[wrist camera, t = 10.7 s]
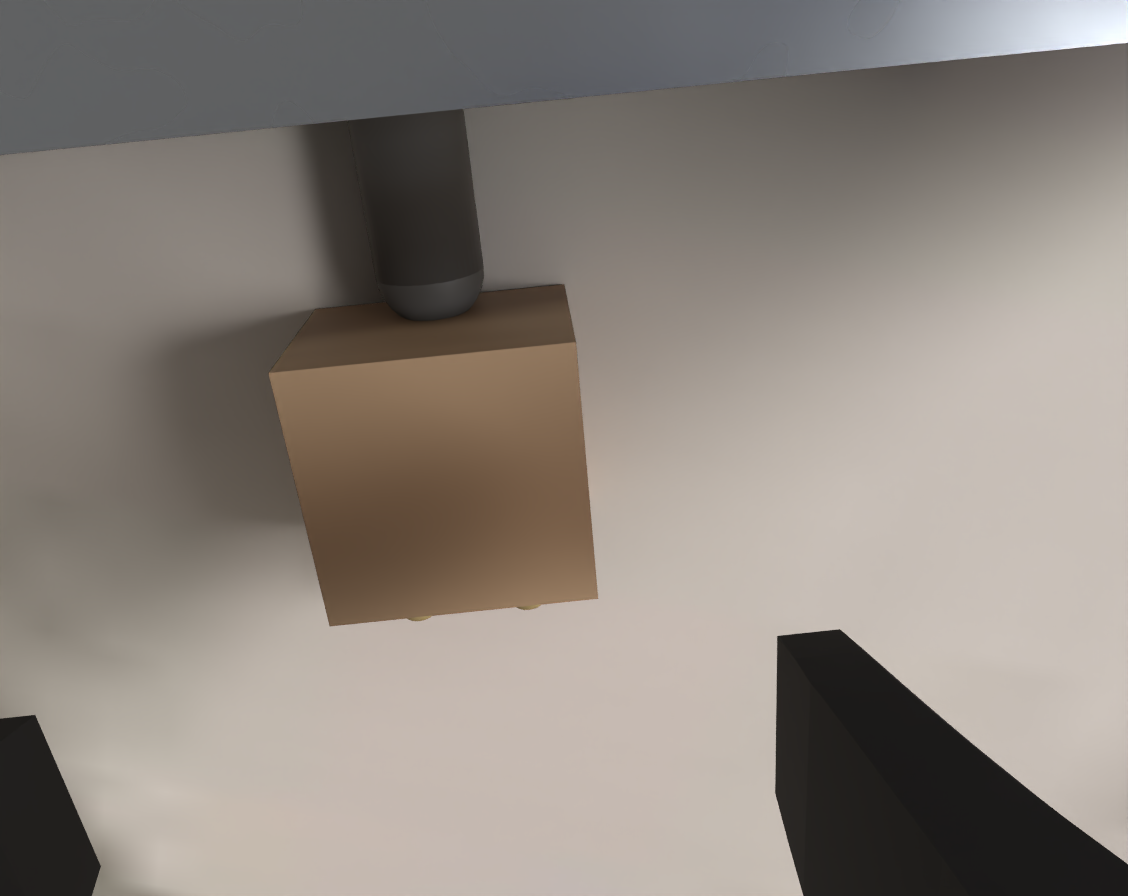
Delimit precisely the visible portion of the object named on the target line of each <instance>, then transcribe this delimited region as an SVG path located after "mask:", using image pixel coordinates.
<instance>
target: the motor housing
mask: <svg viewBox="0 0 1128 896" xmlns="http://www.w3.org/2000/svg"><path fill="white" fill-rule="evenodd" d="M1120 43H1128V0H0V155H5V154H15V153H25V152H35V151H45V150H55V149H65V148H75V147H85V146H95V145H105V144H115V143H125V142H135V141H145V140H155V139H165V138H175V137H185V136H196V135H206V134H216V133H226V132H236V131H246V130H256V129H266V128H276V127H286V126H296V125H306V124H316V123H326V122H336V121H346V120H356V119H366V118H376V117H386V116H396V115H407V114H417V113H427V112H437V111H447V110H457V109H467V108H477V107H487V106H497V105H507V104H517V103H527V102H537V101H547V100H557V99H567V98H577V97H587V96H597V95H607V94H618V93H628V92H638V91H648V90H658V89H668V88H678V87H688V86H698V85H708V84H718V83H728V82H738V81H748V80H758V79H768V78H778V77H788V76H798V75H808V74H818V73H828V72H839V71H849V70H859V69H869V68H879V67H889V66H899V65H909V64H919V63H929V62H939V61H949V60H959V59H969V58H979V57H989V56H999V55H1009V54H1019V53H1029V52H1039V51H1050V50H1060V49H1070V48H1080V47H1090V46H1100V45H1110V44H1120Z"/></svg>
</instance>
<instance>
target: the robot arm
mask: <svg viewBox="0 0 1128 896" xmlns="http://www.w3.org/2000/svg"><path fill="white" fill-rule="evenodd" d="M775 794H776V797H777V801H778V805H779V809H780V812H781V816H782V820H783V824H784V827H785V831H786V835H787V839H788V842H789V846H790V850H791V853H792V857H793V860H794V864H795V867H796V871H797V875H798V878H799V882H800V885H801V889H802V892H803V896H1128V864H1127V863H1125V862H1124V861H1123V860H1121V859H1120V858H1119V857H1117V856H1116V855H1115V854H1113V853H1112V852H1110V851H1109V850H1108V849H1106V848H1105V847H1104V846H1102V845H1101V844H1100V843H1098V842H1097V841H1095V840H1094V839H1093V838H1091V837H1090V836H1089V835H1087V834H1086V833H1085V832H1083V831H1082V830H1081V829H1079V828H1078V827H1076V826H1075V825H1074V824H1072V823H1071V822H1070V821H1068V820H1067V819H1066V818H1064V817H1063V816H1062V815H1060V814H1059V813H1058V812H1057V811H1055V810H1054V809H1053V808H1051V807H1050V806H1049V805H1048V804H1046V803H1045V802H1044V801H1042V800H1041V799H1040V798H1039V797H1037V796H1036V795H1035V794H1034V793H1032V792H1031V791H1030V790H1029V789H1027V788H1026V787H1025V786H1024V785H1022V784H1021V783H1020V782H1019V781H1018V780H1016V779H1015V778H1014V777H1013V776H1011V775H1010V774H1009V773H1008V772H1006V771H1005V770H1004V769H1003V768H1002V767H1000V766H999V765H998V764H997V763H995V762H994V761H993V760H992V759H990V758H989V757H988V756H987V755H985V754H984V753H983V752H982V751H981V750H979V749H978V748H977V747H976V746H974V745H973V744H972V743H971V742H970V741H968V740H967V739H966V738H965V737H964V736H962V735H961V734H960V733H959V732H958V731H957V730H955V729H954V728H953V727H952V726H951V725H949V724H948V723H947V722H946V721H945V720H944V719H942V718H941V717H940V716H939V715H938V714H937V713H935V712H934V711H933V710H932V709H931V708H930V707H929V706H927V705H926V704H925V703H924V702H923V701H922V700H920V699H919V698H918V697H917V696H916V695H915V694H913V693H912V692H911V691H910V690H909V689H908V688H907V687H906V686H904V685H903V684H902V683H901V682H900V681H899V680H898V679H896V678H895V677H894V676H893V675H892V674H891V673H890V672H888V671H887V670H886V669H885V668H884V667H883V666H882V665H880V664H879V663H878V662H877V661H876V660H875V659H874V658H872V657H871V656H870V655H869V654H868V653H867V652H866V651H864V650H863V649H862V648H861V647H860V646H859V645H858V644H856V643H855V642H854V641H853V640H852V639H851V638H849V637H848V636H847V635H846V634H845V633H843V632H842V631H841V630H840V629H839V630H830V631H820V632H811V633H802V634H792V635H783V636H777V710H776V785H775ZM100 867H101V866H100V863H99V861H98V859H97V856H96V854H95V852H94V850H93V847H92V845H91V843H90V840H89V838H88V836H87V833H86V831H85V829H84V827H83V824H82V822H81V820H80V817H79V815H78V813H77V810H76V808H75V806H74V803H73V801H72V799H71V797H70V794H69V792H68V790H67V787H66V785H65V783H64V780H63V778H62V776H61V774H60V771H59V769H58V767H57V764H56V762H55V760H54V757H53V755H52V753H51V750H50V748H49V746H48V744H47V741H46V739H45V737H44V734H43V732H42V730H41V727H40V725H39V723H38V721H37V718H36V716H35V715H31V716H22V717H12V718H3V719H0V896H92V893H93V890H94V887H95V883H96V880H97V877H98V874H99V870H100Z"/></svg>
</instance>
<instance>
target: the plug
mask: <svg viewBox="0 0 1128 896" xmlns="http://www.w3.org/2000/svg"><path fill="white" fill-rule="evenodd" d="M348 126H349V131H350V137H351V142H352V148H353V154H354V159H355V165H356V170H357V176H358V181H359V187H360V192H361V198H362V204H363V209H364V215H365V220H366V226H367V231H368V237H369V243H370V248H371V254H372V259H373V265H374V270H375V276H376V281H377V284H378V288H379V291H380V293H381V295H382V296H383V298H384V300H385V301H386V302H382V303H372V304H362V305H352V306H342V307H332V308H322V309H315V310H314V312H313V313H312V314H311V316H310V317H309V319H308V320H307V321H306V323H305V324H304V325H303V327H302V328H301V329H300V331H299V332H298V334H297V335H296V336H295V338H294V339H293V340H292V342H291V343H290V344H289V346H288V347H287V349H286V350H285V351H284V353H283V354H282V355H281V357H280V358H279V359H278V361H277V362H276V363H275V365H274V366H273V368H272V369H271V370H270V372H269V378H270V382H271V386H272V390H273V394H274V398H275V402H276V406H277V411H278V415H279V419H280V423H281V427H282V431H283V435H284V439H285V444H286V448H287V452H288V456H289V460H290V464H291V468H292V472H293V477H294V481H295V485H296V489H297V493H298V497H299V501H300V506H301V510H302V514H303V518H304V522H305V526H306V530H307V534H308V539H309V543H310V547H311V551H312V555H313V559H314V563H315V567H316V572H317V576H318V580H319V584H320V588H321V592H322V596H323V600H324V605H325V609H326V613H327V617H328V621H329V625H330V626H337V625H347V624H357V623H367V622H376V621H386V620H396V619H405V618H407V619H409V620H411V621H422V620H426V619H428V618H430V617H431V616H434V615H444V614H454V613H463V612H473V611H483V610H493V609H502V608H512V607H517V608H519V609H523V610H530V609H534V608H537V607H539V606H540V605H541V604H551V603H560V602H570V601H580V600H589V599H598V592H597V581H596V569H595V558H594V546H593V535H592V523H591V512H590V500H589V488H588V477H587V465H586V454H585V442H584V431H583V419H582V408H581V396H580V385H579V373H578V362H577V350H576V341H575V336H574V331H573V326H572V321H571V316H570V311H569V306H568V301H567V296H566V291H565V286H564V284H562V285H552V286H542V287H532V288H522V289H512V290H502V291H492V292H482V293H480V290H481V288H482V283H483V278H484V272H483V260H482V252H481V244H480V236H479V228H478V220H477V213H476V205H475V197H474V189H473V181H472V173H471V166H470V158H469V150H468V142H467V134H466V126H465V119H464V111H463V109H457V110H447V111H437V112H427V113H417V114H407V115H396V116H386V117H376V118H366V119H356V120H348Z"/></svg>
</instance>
